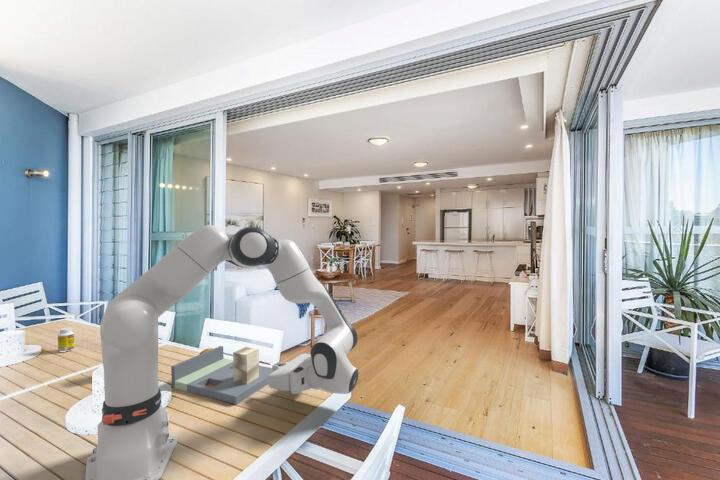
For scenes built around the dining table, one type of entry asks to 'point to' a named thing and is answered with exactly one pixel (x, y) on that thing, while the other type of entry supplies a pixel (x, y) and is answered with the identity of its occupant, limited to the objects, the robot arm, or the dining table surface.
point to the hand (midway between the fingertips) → (274, 366)
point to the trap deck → (218, 378)
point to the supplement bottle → (65, 339)
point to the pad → (200, 374)
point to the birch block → (246, 365)
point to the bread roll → (205, 350)
